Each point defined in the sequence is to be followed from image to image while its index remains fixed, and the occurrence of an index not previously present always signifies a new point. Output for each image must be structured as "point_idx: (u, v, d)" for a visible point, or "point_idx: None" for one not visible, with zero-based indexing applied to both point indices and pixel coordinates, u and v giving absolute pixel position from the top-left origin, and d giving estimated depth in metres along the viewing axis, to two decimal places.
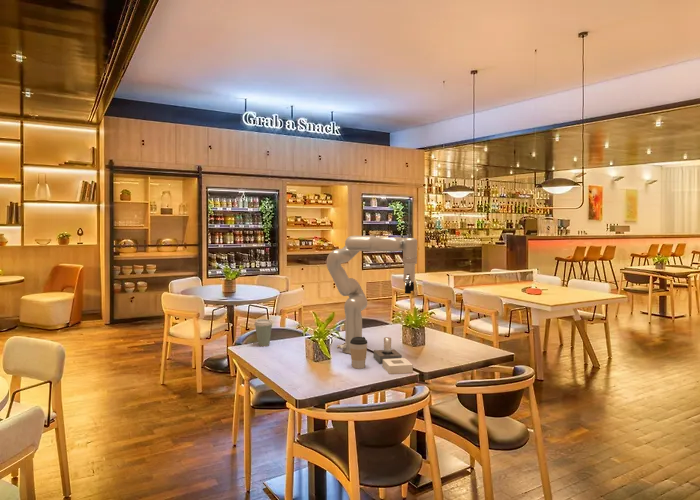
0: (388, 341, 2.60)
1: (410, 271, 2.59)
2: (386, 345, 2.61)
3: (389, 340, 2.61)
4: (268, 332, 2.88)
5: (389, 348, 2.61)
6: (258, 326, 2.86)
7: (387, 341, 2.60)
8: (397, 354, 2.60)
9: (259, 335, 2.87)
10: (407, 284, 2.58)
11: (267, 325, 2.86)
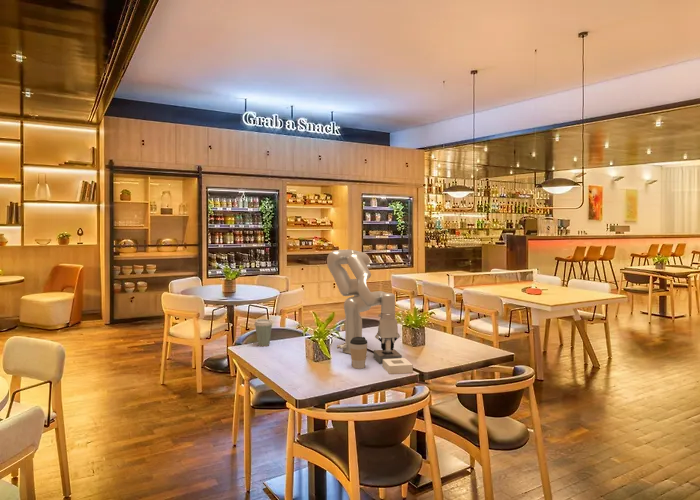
0: (388, 341, 2.60)
1: None
2: (386, 345, 2.61)
3: (389, 340, 2.61)
4: (268, 332, 2.88)
5: (389, 348, 2.61)
6: (258, 326, 2.86)
7: (387, 341, 2.60)
8: (397, 354, 2.60)
9: (259, 335, 2.87)
10: None
11: (267, 325, 2.86)
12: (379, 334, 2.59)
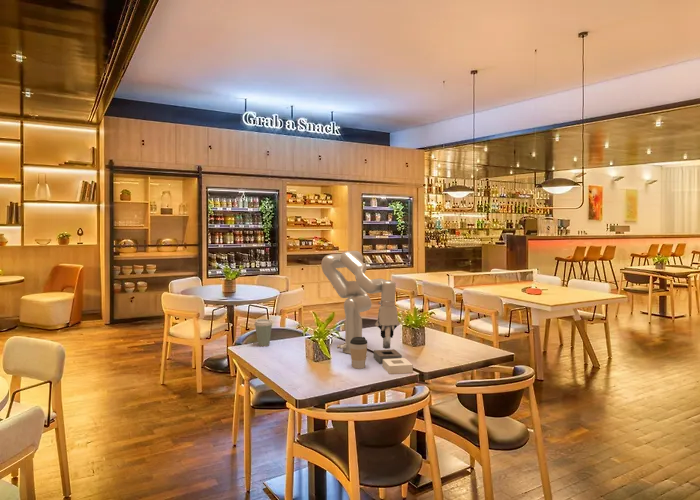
0: (388, 328, 2.60)
1: None
2: (386, 332, 2.60)
3: (389, 328, 2.60)
4: (268, 332, 2.88)
5: (389, 335, 2.61)
6: (258, 326, 2.86)
7: (387, 329, 2.60)
8: (397, 354, 2.60)
9: (259, 335, 2.87)
10: None
11: (267, 325, 2.86)
12: (379, 321, 2.59)
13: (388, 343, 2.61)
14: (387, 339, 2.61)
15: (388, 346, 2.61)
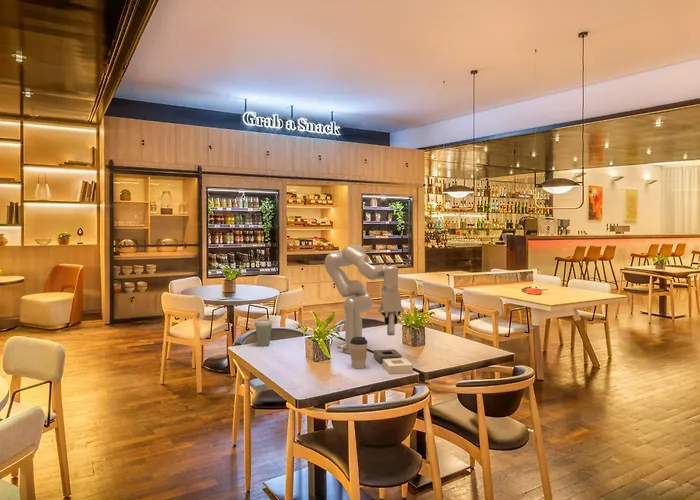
0: (391, 315, 2.55)
1: None
2: (389, 319, 2.55)
3: (392, 314, 2.55)
4: (268, 332, 2.88)
5: (393, 322, 2.56)
6: (258, 326, 2.86)
7: (391, 315, 2.55)
8: (397, 354, 2.60)
9: (259, 335, 2.87)
10: None
11: (267, 325, 2.86)
12: (382, 308, 2.54)
13: (392, 330, 2.56)
14: (391, 326, 2.56)
15: (392, 333, 2.56)
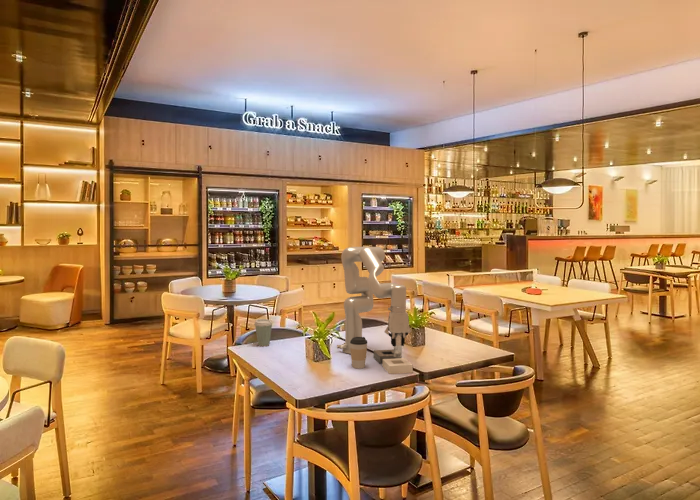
0: (399, 336, 2.43)
1: None
2: (396, 340, 2.44)
3: (400, 335, 2.44)
4: (268, 332, 2.88)
5: (400, 344, 2.44)
6: (258, 326, 2.86)
7: (398, 336, 2.43)
8: None
9: (259, 335, 2.87)
10: None
11: (267, 325, 2.86)
12: (389, 329, 2.42)
13: (399, 352, 2.44)
14: (398, 347, 2.44)
15: (399, 355, 2.44)
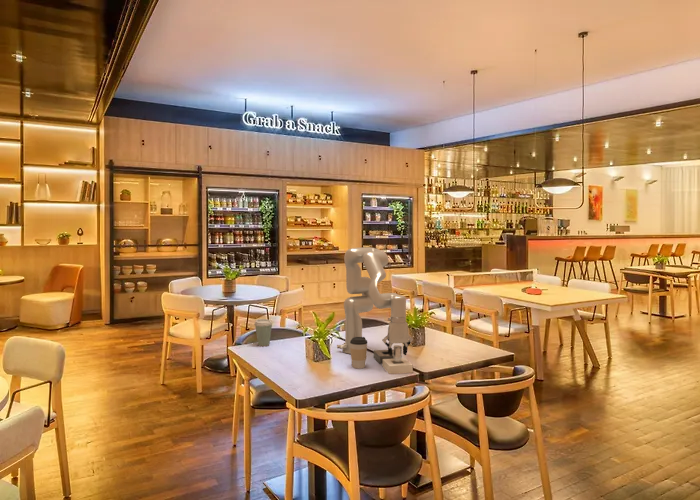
0: (398, 349, 2.44)
1: None
2: (396, 354, 2.44)
3: (399, 348, 2.44)
4: (268, 332, 2.88)
5: (399, 357, 2.44)
6: (258, 326, 2.86)
7: (397, 350, 2.44)
8: None
9: (259, 335, 2.87)
10: None
11: (267, 325, 2.86)
12: (389, 339, 2.43)
13: None
14: (398, 361, 2.44)
15: None
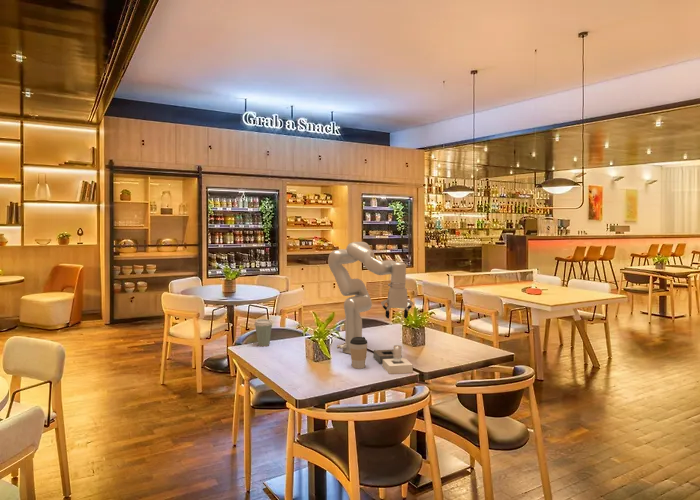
0: (398, 349, 2.44)
1: None
2: (396, 354, 2.44)
3: (399, 348, 2.44)
4: (268, 332, 2.88)
5: (399, 357, 2.44)
6: (258, 326, 2.86)
7: (397, 350, 2.44)
8: None
9: (259, 335, 2.87)
10: None
11: (267, 325, 2.86)
12: (388, 303, 2.53)
13: None
14: (398, 361, 2.44)
15: None
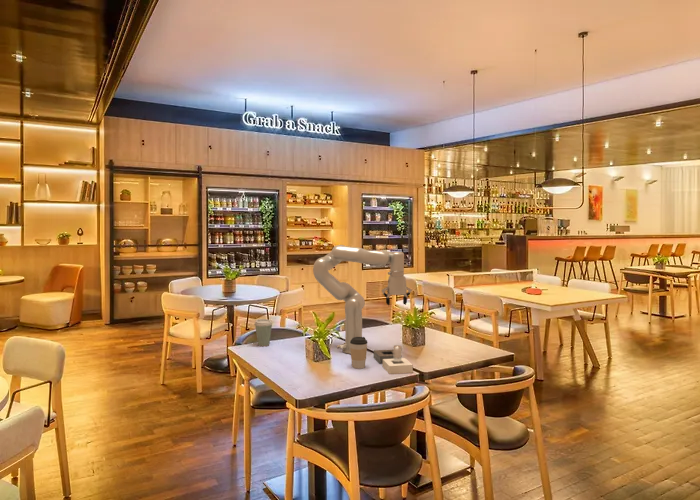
0: (398, 349, 2.44)
1: None
2: (396, 354, 2.44)
3: (399, 348, 2.44)
4: (268, 332, 2.88)
5: (399, 357, 2.44)
6: (258, 326, 2.86)
7: (397, 350, 2.44)
8: None
9: (259, 335, 2.87)
10: None
11: (267, 325, 2.86)
12: (388, 291, 2.70)
13: None
14: (398, 361, 2.44)
15: None
